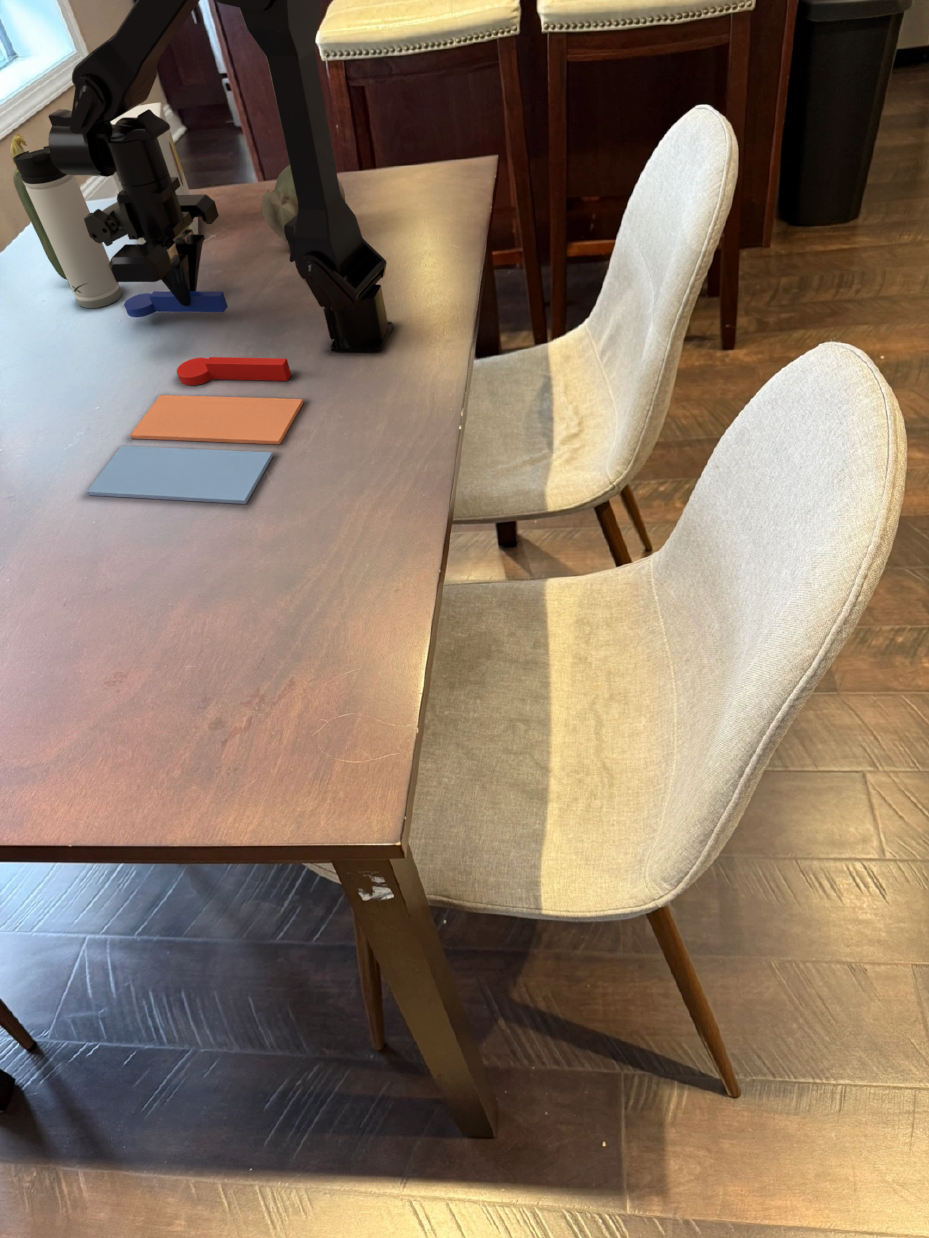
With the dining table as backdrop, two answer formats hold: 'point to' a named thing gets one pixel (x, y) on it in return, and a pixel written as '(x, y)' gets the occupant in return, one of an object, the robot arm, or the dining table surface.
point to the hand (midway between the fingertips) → (188, 302)
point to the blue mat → (182, 474)
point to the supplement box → (168, 153)
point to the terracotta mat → (218, 419)
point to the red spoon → (233, 369)
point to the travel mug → (68, 229)
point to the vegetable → (32, 207)
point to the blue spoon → (175, 303)
